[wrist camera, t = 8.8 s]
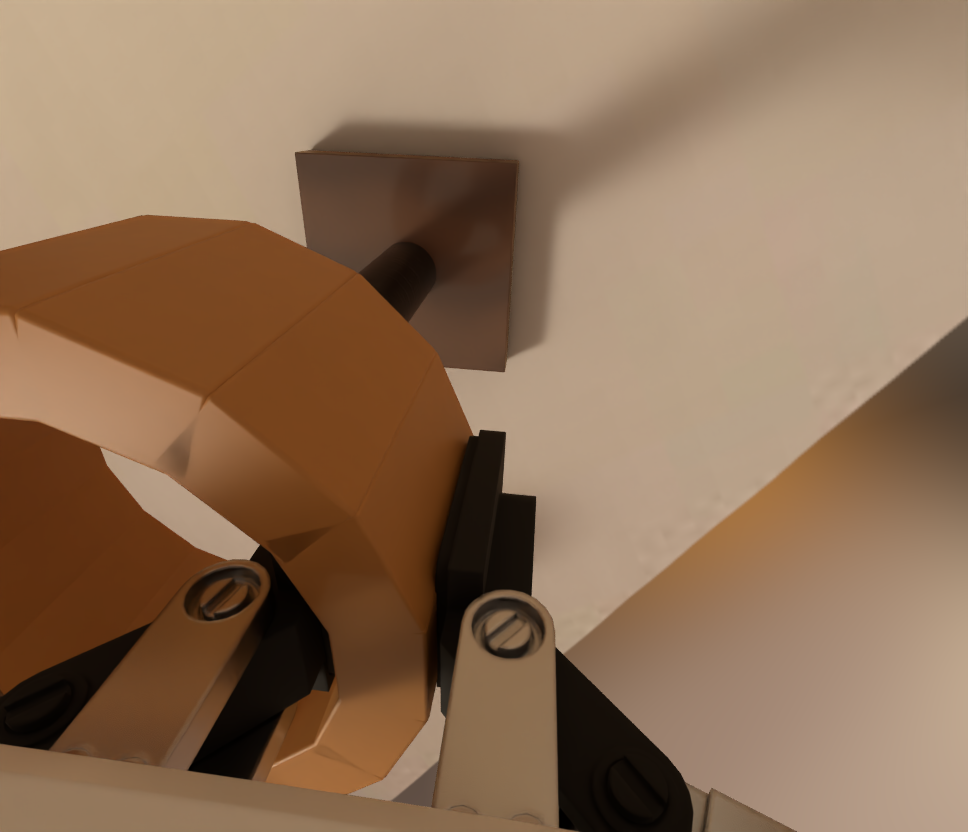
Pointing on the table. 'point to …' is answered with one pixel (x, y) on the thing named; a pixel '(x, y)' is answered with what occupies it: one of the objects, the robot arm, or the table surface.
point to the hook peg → (402, 276)
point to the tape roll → (226, 460)
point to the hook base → (424, 236)
